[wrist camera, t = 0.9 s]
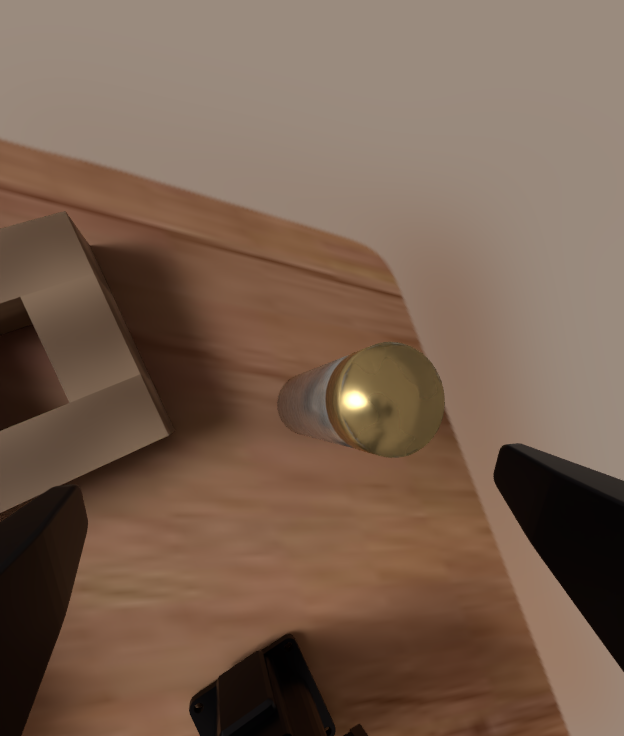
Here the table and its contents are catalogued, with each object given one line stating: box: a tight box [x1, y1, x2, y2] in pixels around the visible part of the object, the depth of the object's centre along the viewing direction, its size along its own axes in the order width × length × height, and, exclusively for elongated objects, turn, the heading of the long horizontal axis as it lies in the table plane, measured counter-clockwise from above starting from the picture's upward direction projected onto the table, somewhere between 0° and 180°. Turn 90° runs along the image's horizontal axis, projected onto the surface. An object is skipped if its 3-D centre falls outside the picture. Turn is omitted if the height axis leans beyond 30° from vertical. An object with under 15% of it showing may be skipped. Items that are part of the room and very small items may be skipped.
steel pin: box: [277, 342, 445, 458], centre depth 19 cm, size 4×4×12 cm
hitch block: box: [0, 211, 175, 513], centre depth 19 cm, size 12×12×4 cm
